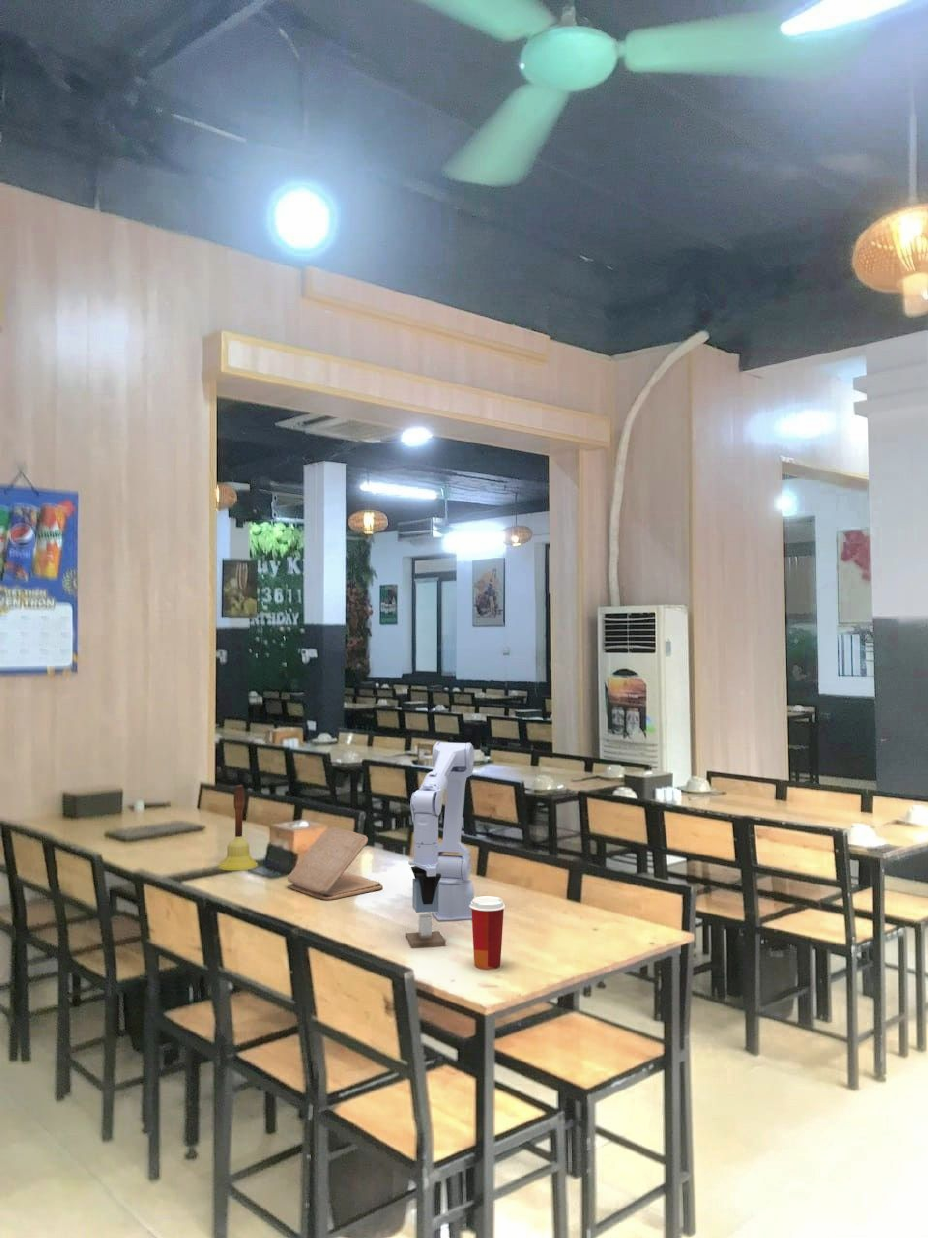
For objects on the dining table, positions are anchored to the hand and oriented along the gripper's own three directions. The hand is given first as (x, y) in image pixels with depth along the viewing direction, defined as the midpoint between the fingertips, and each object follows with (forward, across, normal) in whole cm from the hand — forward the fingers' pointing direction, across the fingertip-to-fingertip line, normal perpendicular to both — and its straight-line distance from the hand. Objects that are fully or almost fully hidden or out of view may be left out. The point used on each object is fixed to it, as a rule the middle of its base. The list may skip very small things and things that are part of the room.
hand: (425, 900), depth 224 cm
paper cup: (+10, +19, +10) cm, 24 cm away
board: (+10, 0, 0) cm, 10 cm away
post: (+8, 0, 0) cm, 8 cm away
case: (+10, -53, -16) cm, 56 cm away
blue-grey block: (+2, 0, 0) cm, 2 cm away
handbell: (+10, -87, -43) cm, 98 cm away
